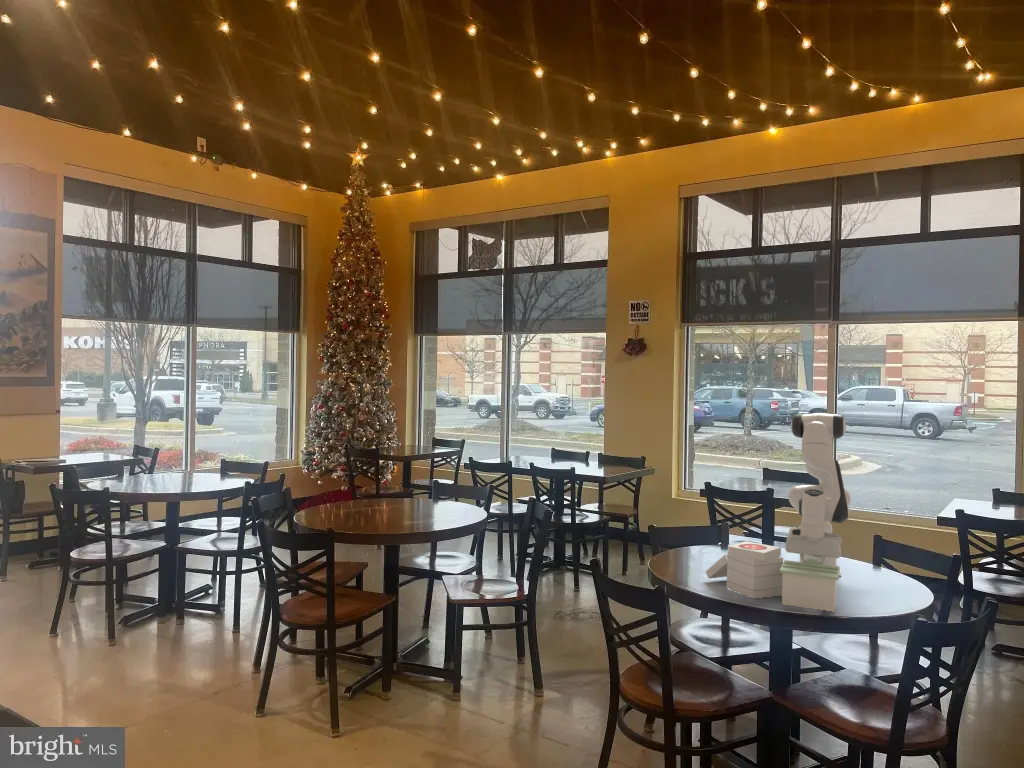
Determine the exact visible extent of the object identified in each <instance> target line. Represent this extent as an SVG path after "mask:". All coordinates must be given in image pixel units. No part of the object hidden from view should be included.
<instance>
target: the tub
mask: <svg viewBox="0 0 1024 768" xmlns="http://www.w3.org/2000/svg"><path fill="white" fill-rule="evenodd" d="M837 582H838V580H833V579H825V578H818V577H810V576H802V575H794V574H787V573H783V584H782V596H781V604H782V605H783V606H789V607H790V606H792V607H797V608H798V607H799V608H805V609H810V608H813V609H812V610H817V609H820V610H819V611H823V610H826V611H825V612H830V611H832V613H836V608H837V607H836V604H837V596H838V595H837V589H838V588H837V587H838V586H837V585H838V583H837Z"/></svg>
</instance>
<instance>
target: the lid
mask: <svg viewBox="0 0 1024 768" xmlns="http://www.w3.org/2000/svg"><path fill="white" fill-rule="evenodd" d="M840 571H841V566H838V565H837V566H829V565H821V564H818V559H817V558H808V557H807V560H806V563H804V562H800V561H793V560H787V559H785V560H784V559H783V564H782V566H781V568H780V573H787V574H794V575H802V576H810V577H818V578H825V579H833V580H837V581H839V579H840V578H839V577H840V576H839V573H841V572H840Z"/></svg>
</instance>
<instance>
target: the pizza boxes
mask: <svg viewBox="0 0 1024 768" xmlns="http://www.w3.org/2000/svg"><path fill="white" fill-rule="evenodd" d="M727 549H728V551H727V554H724V555H723V556H721V558H719V559H718V560H717V561H716V562H715V563H713V564H712V565H711V566H710V567H709V568H708V569H707V570H705V573H706V576H707V578H708V579H717V578H725V577H726V589H727V588H729V589H731V590H733V591H736V592H739V593H741V594H743V595H742V596H744V595H745V596H744V597H746V596H748V597H747V598H749V597H751V598H753V599H752V600H755V599H754V598H760V599H764V598H763V597H767V598H773V597H772V596H775V597H781V596H780V595H782V584H783V573H780V568H781V566H782V564H783V562H784V557H782V556H781V555H782V547H780V546H774V545H768V544H763V543H758V542H752V541H742V542H738V543H735V544H731V545H729V546H727ZM731 590H730V591H731ZM733 591H732V592H733ZM736 592H735V593H736ZM741 594H740V595H741ZM751 598H750V599H751Z"/></svg>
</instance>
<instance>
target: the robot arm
mask: <svg viewBox="0 0 1024 768" xmlns="http://www.w3.org/2000/svg"><path fill="white" fill-rule="evenodd" d="M846 423H847V422H846V421H845V419H844V417H843V415H841V414H837V413H833V414H832V413H823V412H821V413H820V412H819V413H805V414H803V413H799V414H795V415H793V417H792V419H791V421H790V431H791V432H792V435H793V436H794V437H796V438H801V458H802V460H803V462H804V463H805V470H806V472H807V473H808V475H810V476H812V477H814V478H815V479H817V480H818V483H819V484H817V485H815V484H800V485H794V486H792V487H791V488H790V490H789V492H788V502H789V504H790V505H791V506H792V507H793V508H794V509H795V510H797V512H798V515H800V516H801V518H802V519H801V523H800V525H796V526H792V527H790V528H789V530H788V533H789V534H788V536H787V537H786V541H785V547H784V548H785V552H786V553H790V554H798V555H799V562H804V563H806V560H807V557H808V558H817V559H818V564H821V565H829V566H837V567H838V564H837V559H840V557H841V555H842V552H841V546H842V544H843V539H842V536H841V535H839V534H838V533H833V526H832V524H831V523H836V524H842V523H844V522H846V521H847V520H849V516H850V507H849V506H850V504H851V495H850V492H849V491H848V489H847V488H845V486H844V485H845V484H844V480H843V476H842V475H843V474H842V472H841V466H840V464H839V461H838V460H837V459H835V458H834V450H833V449H834V448H833V440H832V439H834V442H835V441H837V440H838V439H841V438H842V437H843V436H844V435H845V432H846V430H847V425H846ZM839 577H842V573H841V572H840V573H839Z"/></svg>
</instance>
